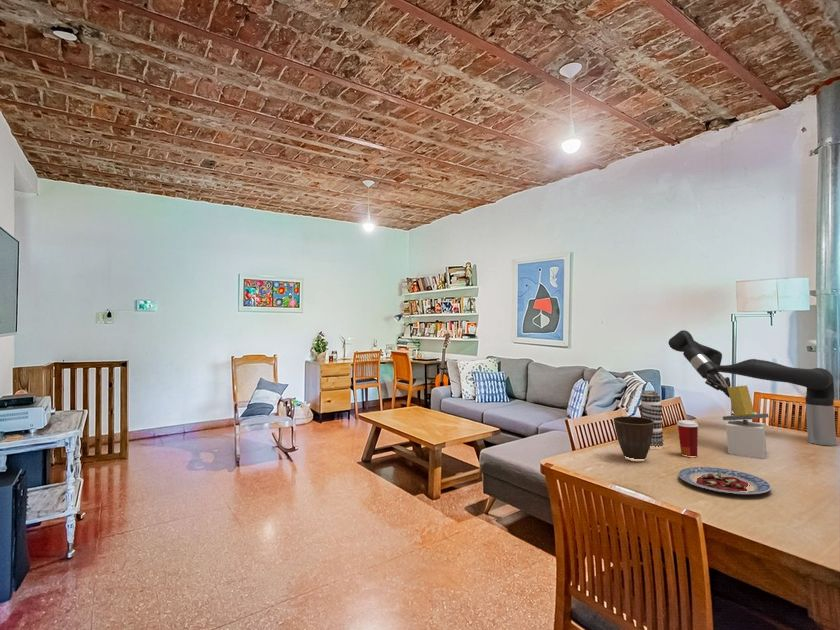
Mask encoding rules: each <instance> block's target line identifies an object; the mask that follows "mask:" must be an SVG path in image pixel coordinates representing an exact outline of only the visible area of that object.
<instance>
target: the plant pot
mask: <svg viewBox="0 0 840 630" xmlns="http://www.w3.org/2000/svg"><path fill="white" fill-rule="evenodd" d="M613 424H614V430H615V434H616V437H617V441H618V443H619V447H620V449H621V452H622V454H623V456H626V457H629V458H634V459H645V458H646V459H647V457H648V454H649V450H650V449H649V448H650V444H651V440H652V434H653V427H654V421H653V420H651V419H647V418H642V417H641V416H617V417H614V418H613ZM646 459H645V460H646Z"/></svg>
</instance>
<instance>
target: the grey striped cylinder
mask: <svg viewBox="0 0 840 630" xmlns="http://www.w3.org/2000/svg"><path fill="white" fill-rule="evenodd" d="M660 396H661V394H660V393H659V392H658V391H656V390H649V389H648V390H642V392H641V393H640V399H641V400H640V404H639V411H640V417H642V418H647V419H651V420H653V421H654V427H653V434H652V440H651V444H650V446H655V447H656V446H658V447H659V446H663V447H664V439H663V438H664V436H663V434H664V432H663V427H662V422H663V418H661V417H662V416H663V414H662V413H663V410H662V408H663V405H662V403H661V397H660Z"/></svg>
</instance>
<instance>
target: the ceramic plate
mask: <svg viewBox="0 0 840 630" xmlns="http://www.w3.org/2000/svg"><path fill="white" fill-rule="evenodd" d="M677 474H678V477H679V478H680V479H681V480H683V481H684V482H686V483H688V484H691V485H693V486H695V487H698V488H701V489H704V488H705V490H708V489H709V490H708V491H711V490H713V491H712V492H716V491H719V492H718V493H720V492H725V493H724V494H727V493H733V494H732V495H760V494H764V493H768V492H770V491H771V489H772V485H771V484H770V483H769V482H768V481H767V480H765V479H763V478H762V477H759V476H757V475H754V474H751V473H747V472H743V471H739V470H734V469H728V468H723V467H722V468H721V467H711V466H710V467H709V466H695V467H686V468H684V469H681V470H679V471H678V473H677ZM699 475H702V476H701V477H699V478H697V481H696V483H695V482H694V481H693V478H694V477H695V476H699ZM717 476H718V477H717ZM721 476H722V477H721ZM748 483H749V484H750V485H751V486H753V487H754V490H753V491H748V492H740V491H747V489H746V487H747V486H748ZM750 485H749V486H750Z"/></svg>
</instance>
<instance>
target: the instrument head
mask: <svg viewBox="0 0 840 630" xmlns="http://www.w3.org/2000/svg"><path fill="white" fill-rule="evenodd" d="M727 388H728V392H729V396H730V397H729V399H730V404H731V407H732V411H733V415H724V416H722V420H723V421H729V420H735V421H743V420H756V419H766V418H769V417H770V416H769V413H759V412H755V411H754V407H753V402H752V399H751V395H750V391H749V387H748V385H738V386H730V387H727Z"/></svg>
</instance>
